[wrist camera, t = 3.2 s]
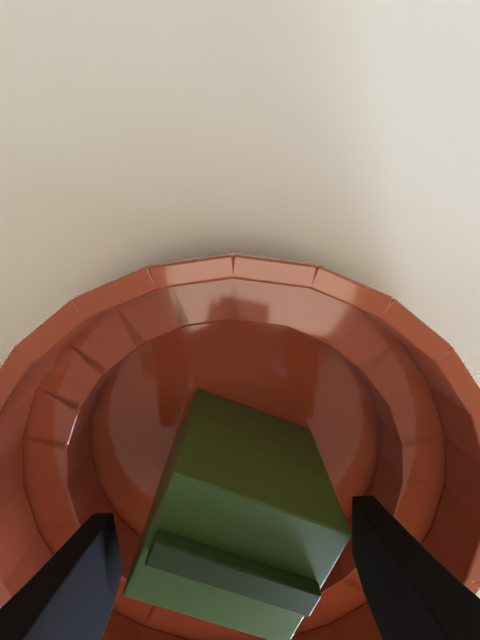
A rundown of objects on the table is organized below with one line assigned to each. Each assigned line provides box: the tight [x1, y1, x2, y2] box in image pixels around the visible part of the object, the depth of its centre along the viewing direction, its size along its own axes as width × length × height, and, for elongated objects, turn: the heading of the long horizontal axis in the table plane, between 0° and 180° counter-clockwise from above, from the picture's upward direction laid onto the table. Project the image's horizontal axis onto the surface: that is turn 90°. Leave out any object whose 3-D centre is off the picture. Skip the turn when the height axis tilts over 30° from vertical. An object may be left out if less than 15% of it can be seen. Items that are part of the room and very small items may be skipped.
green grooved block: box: [123, 388, 352, 640], centre depth 11 cm, size 4×5×5 cm
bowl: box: [0, 252, 480, 640], centre depth 12 cm, size 16×16×4 cm
